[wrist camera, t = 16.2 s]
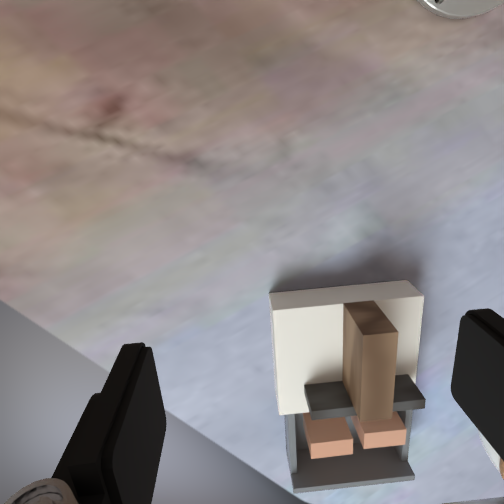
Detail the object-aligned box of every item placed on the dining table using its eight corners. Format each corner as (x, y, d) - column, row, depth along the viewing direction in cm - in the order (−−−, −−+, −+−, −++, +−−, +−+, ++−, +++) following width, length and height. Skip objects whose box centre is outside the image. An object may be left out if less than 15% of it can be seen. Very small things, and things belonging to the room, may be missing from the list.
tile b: (353, 438, 43) (352, 454, 44) (340, 406, 47) (340, 421, 48) (310, 443, 43) (311, 458, 44) (302, 411, 47) (303, 425, 48)
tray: (398, 378, 47) (421, 413, 42) (393, 439, 51) (414, 480, 45) (283, 390, 47) (290, 428, 41) (286, 451, 50) (293, 493, 45)
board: (406, 279, 42) (424, 295, 38) (398, 378, 47) (413, 401, 43) (268, 293, 42) (272, 310, 38) (275, 391, 47) (279, 415, 43)
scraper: (415, 296, 38) (446, 327, 33) (407, 382, 42) (434, 423, 37) (301, 307, 38) (314, 340, 32) (304, 393, 42) (315, 435, 36)
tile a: (406, 429, 43) (405, 444, 44) (389, 398, 47) (387, 412, 48) (364, 433, 43) (363, 449, 43) (351, 402, 47) (350, 416, 48)
